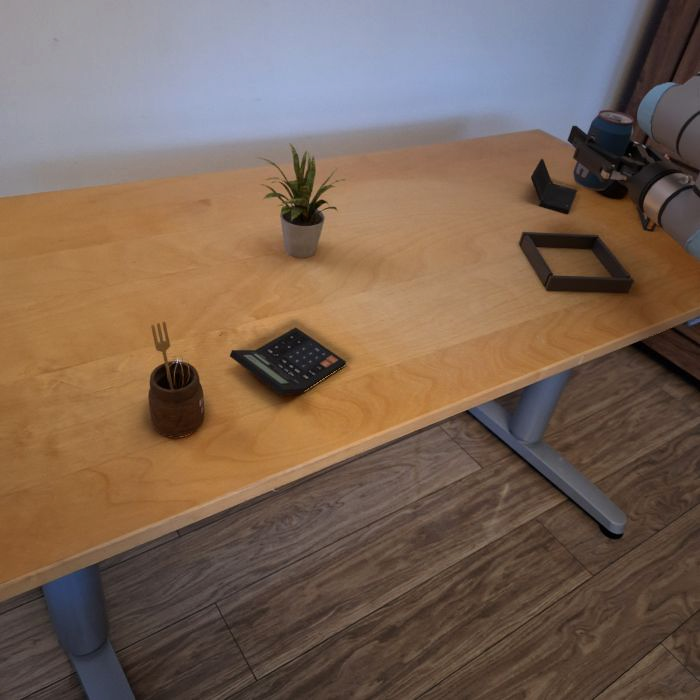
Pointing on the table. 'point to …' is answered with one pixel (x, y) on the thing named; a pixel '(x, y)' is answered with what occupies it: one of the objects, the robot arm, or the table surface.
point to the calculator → (289, 362)
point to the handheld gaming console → (551, 190)
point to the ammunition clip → (645, 220)
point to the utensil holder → (174, 393)
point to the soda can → (606, 144)
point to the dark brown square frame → (575, 283)
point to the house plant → (301, 208)
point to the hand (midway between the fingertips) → (591, 134)
